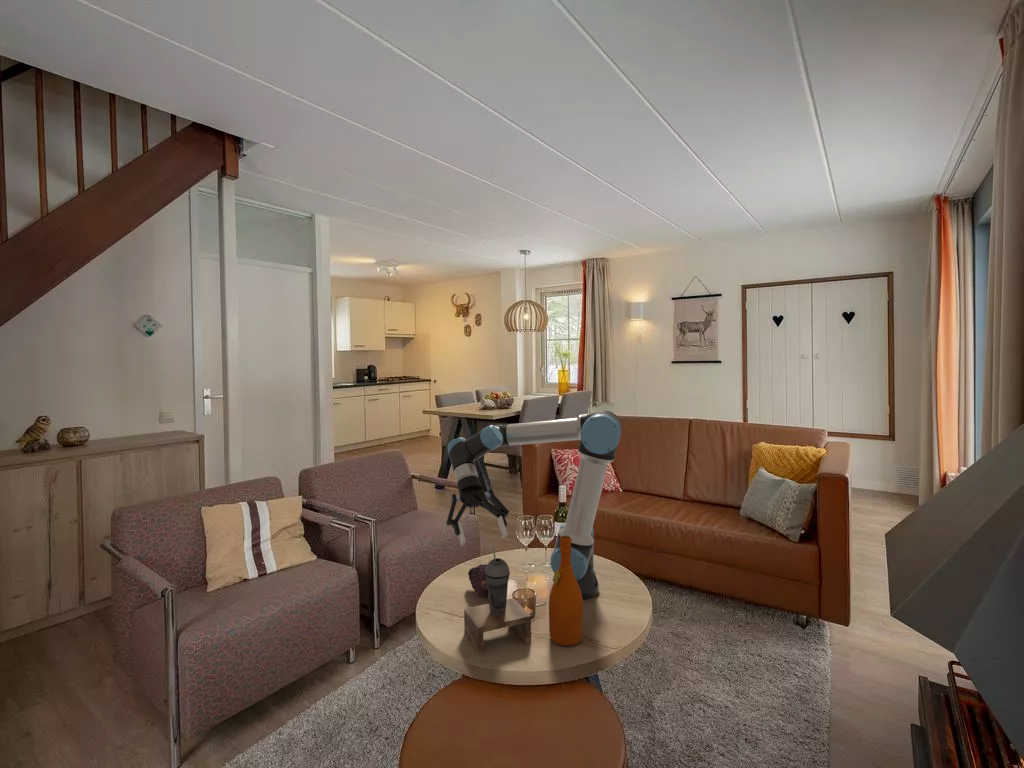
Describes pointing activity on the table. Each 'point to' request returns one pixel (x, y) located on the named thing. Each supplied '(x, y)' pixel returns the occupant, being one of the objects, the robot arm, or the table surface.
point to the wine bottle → (565, 601)
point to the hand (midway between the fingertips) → (485, 540)
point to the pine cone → (479, 580)
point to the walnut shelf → (495, 622)
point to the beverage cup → (497, 585)
